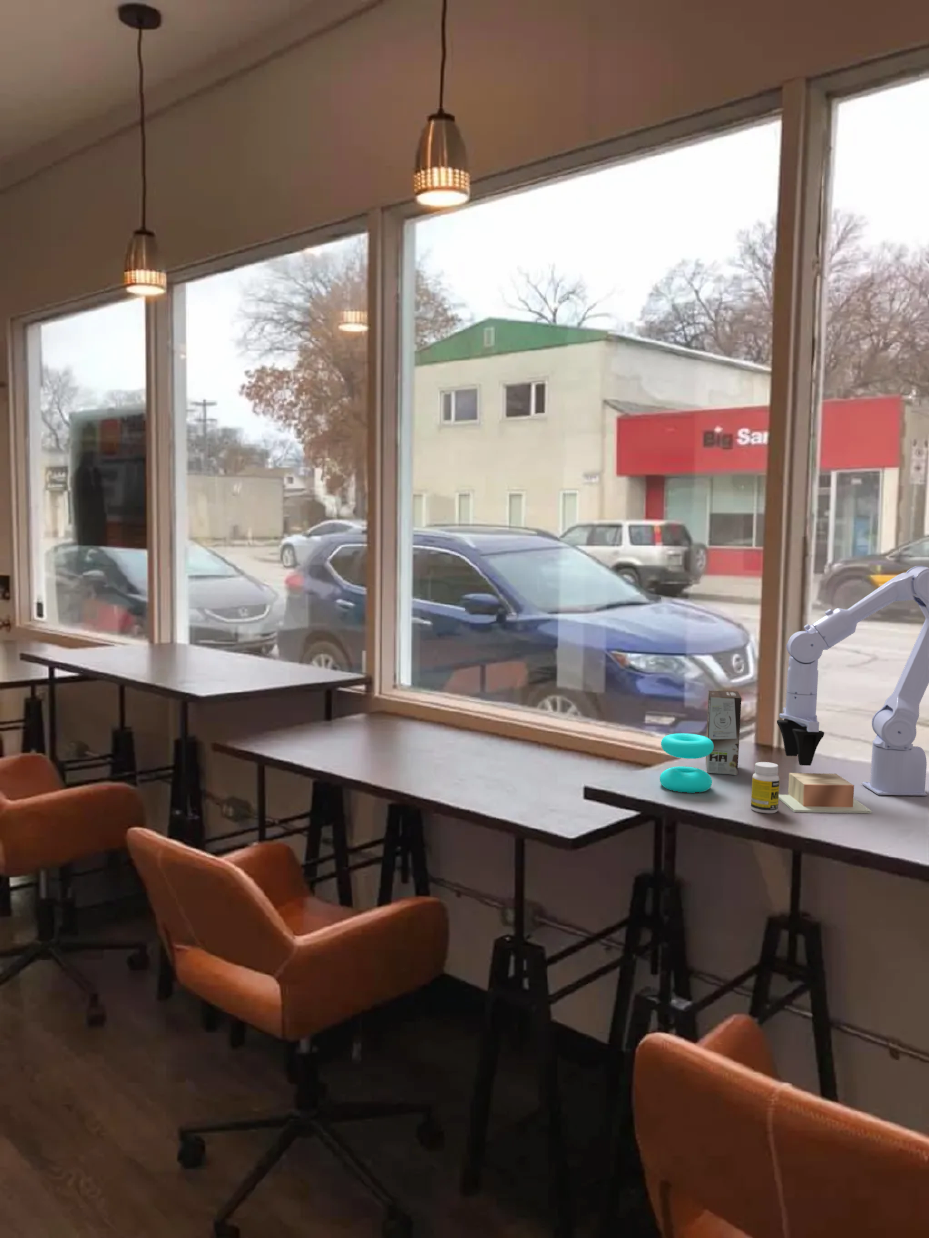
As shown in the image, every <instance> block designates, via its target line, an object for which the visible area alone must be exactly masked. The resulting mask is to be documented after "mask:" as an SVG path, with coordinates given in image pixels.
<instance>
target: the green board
mask: <svg viewBox="0 0 929 1238" xmlns="http://www.w3.org/2000/svg"><path fill="white" fill-rule="evenodd" d="M778 800H779V801H780V802H782V803H783V804H784V805H785V806H786V807H788V808H789V809H790V810H791V811H792V812H793V813H830V814H831V813H834V814H835V813H836V814H837V813H838V814H839V813H840V814H843V813H845V814H872V811H873V810H871V809H870V808H869V807H867V806H866V805H864V804H862V803H861V802H860V801H858V800H857V799H855V798H854V797H853V807H811V806H803V805H801V804H800V803H799V802H798V801H797V800H795V799H794V798H793V797H792V796H790V795H789V794H779V799H778Z"/></svg>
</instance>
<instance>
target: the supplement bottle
mask: <svg viewBox="0 0 929 1238" xmlns="http://www.w3.org/2000/svg"><path fill="white" fill-rule="evenodd" d="M754 772H755V773H753V774H752V778H751V795H750V796H751V798H750V808H751V810H752V811H754V812H755V813H756V812H757V813H761V814H762V813H763V814H775V813H777V812H778V811H779V800H780V799H779V795H780V776H779V774H778V773H779V765H778V764H777V763H773V762H768V761H767V762H766V761H760V762H759V761H758V762H756V763H755V764H754Z"/></svg>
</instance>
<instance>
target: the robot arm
mask: <svg viewBox="0 0 929 1238" xmlns="http://www.w3.org/2000/svg"><path fill="white" fill-rule="evenodd" d="M906 601H914V602H916V603H917V605H918V607H919V609H920V610H921V612H922V614H923V616H924V618H925V620H924V621H923V624H922V627H921V629H920V631H919V633H918V636H917V638H916V640H915V642H914V644H913V647H912V649H911V651H910V654H909V656H908V658H907V660H906V663H905V665H904V668H903V669H902V671H901V674H900V677H899V679H898V681H897V683H896V685H895V687H894V689H893V692H892V693H891V695H889V697H887V698H886V700H885V702H884V704H883V705H882V707H881V708H880V709H878V710H877V711H876V712H875V713H874V715H873V717H872V719H871V727H872V730H873V732H874V733H875V734H876V736H875V738H874V739H873V740H872V746H871V747H872V749H871V763H870V780H869V781H862V783H861V785H863V786H864V787H865V788H867V789H868V790H870V791H872V792H873V793H875V794H876V795H879V796H921V797H923V796H927V792H926V780H927V779H926V778H927V765H928V764H927V763H928V762H927V756H926V753H925V750H924V749H923V748H922V747H921V746H919V745H918V746H914V744H913V742H914V741H915V740H916V738H917V723H918V720H919V719H920V718H919V717H920V704H921V701H922V699H923V697H924V694H925V693H926V690H927V688H928V686H929V567H928V566H925V565H915V566H913V567H911V568H909V569H908V570H907V571H906V572H902V573H899V574H897V575H896V576H894V577H893V578H891V579H889V580H888V581H886V582H884V583H883V584H881V586H879V587H877V588H876V589H875V590H873V591H872V592H871V593H869V594H868V595H866V596H865V597H863V598H861V599H860V600H859V601H857V602H856V603H855V604H852V606H850V607H849V608H846V609H845V608H840V607H836V608H834V610H833V609H831V608H829V609H826V611H824V613H825V615H824V616H823V617H820V619H818V620H817V621H815V622H813V623H812V624H809V623H807V624H805V625H804V626H803V628H804V630H801V631H800V630H799V631H796V632H794V633H792V635H791V636H790V637H789V639H788V641H787V643H786V645H785V646H786V651H787V652H788V654H789V656H788V662H787V663H788V667H787V676H786V693H785V694H786V697H785V707H783V708H782V713H779V714H778V715H779V716H778V717H779V718H780V719H777V720H776V724H777V725H778V728H779V730H780V734H781V738H782V742H783V747H784V753H785V755H786V757H797V761H798V765H799V766H812V763H813V760H814V756H815V753H816V751H817V747H818V746H819V744H820V742H821V740H822V739H823V738H824V736H825V732H824V731H823V730H820V722H819V721H818V716H817V702H818V701H817V700H818V684H819V683H818V682H819V680H818V679H819V669H818V668H819V667H818V666H819V664H818V663H819V659H820V658H821V656H822V655H823V652H824V651H828V650H829V649H831V648H833V647H834V646H835V645H837V644H839V643H840V642H842V641H843V640H845V639H847V638H849V637H850V636H852V635H854V633H856V630H857V627H858V626H857V625H858V623H860V622H862V621H863V620H865V619H867V618H868V617H870V616H872V615H874V614H875V613H877V612H879V611H880V610H882V609H884V608H886V607H888V606H889V605H891V604H892V603H894V602H906Z"/></svg>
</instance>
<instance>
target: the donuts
mask: <svg viewBox="0 0 929 1238" xmlns="http://www.w3.org/2000/svg"><path fill="white" fill-rule="evenodd" d="M660 746H661V748H662V750H663V752H665V753H666V754H667V755H669V756H671V757H674V758H679V759H687V760H689V759H690V760H696V759H703V758H706V756H708V755H709V754H710V753H711V752H712V751H713V748H714V745H713V742H712V741H711V740H710V739H709V738H707V736H705V735H702V734H701V735H700V734H696V733H687V732H685V733H683V732H682V733H681V732H680V733H679V732H678V733H670V734H667V735H665V736H663V737H662V739H661V741H660ZM659 782H660V785H662V786H663V787H664V788H665V789H666V790H669V791H672V790H673V792H676V791H678V792H677V793H682V792H687V793H686V794H696V793H695V792H699V793H703V792H706V791H708V790H709V789H710V788H711V787H712V784H713V779H712V776H711V775H710V773H707V771H704V770H703V769H701V768H699V767H692V766H672V767H669V768H667V769H665V770H664V771H662V772H661V773H660V776H659Z"/></svg>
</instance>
